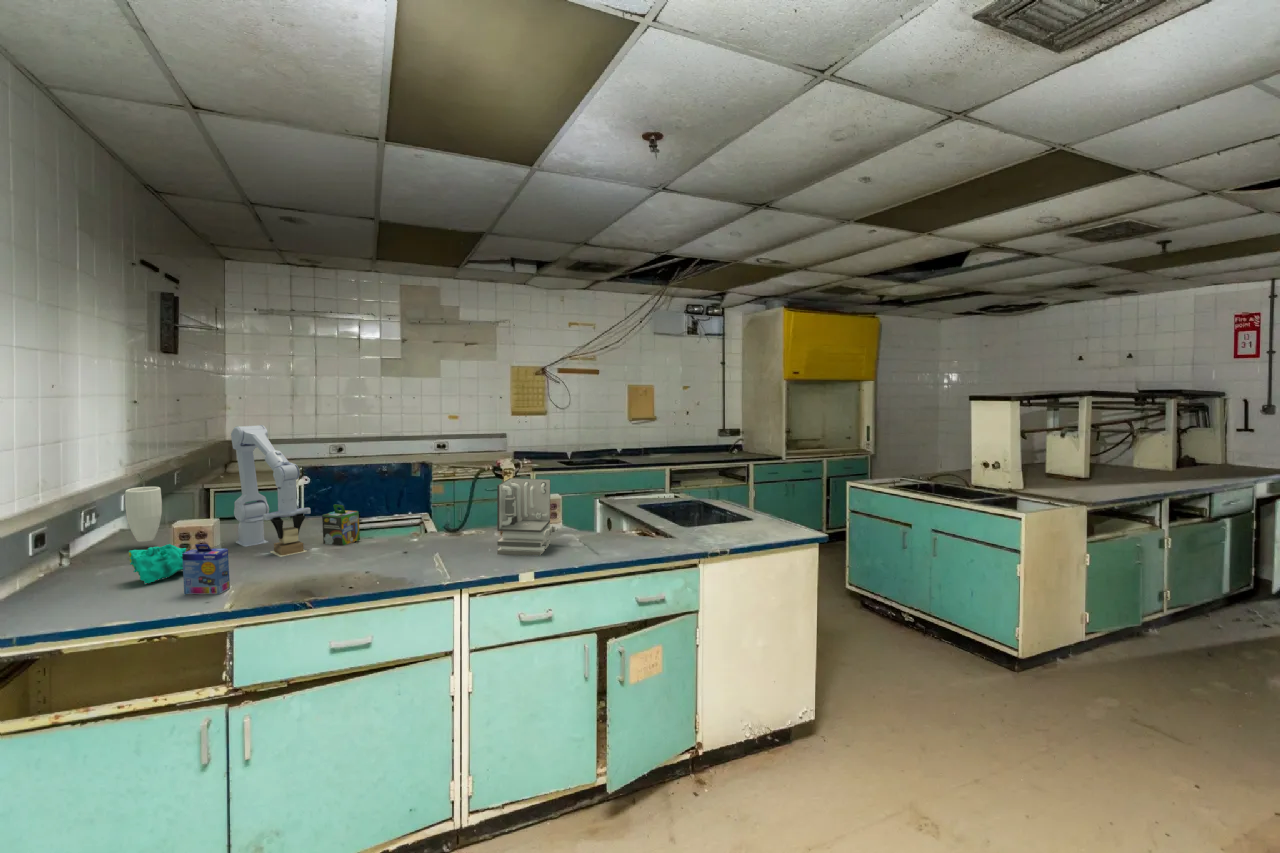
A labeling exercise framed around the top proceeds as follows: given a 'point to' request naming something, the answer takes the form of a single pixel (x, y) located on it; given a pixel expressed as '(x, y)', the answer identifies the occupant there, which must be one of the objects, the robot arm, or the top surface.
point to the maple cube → (289, 535)
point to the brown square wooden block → (288, 547)
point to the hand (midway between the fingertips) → (288, 536)
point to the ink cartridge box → (205, 570)
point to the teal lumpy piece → (157, 562)
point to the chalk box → (340, 526)
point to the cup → (143, 511)
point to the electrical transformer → (524, 516)
